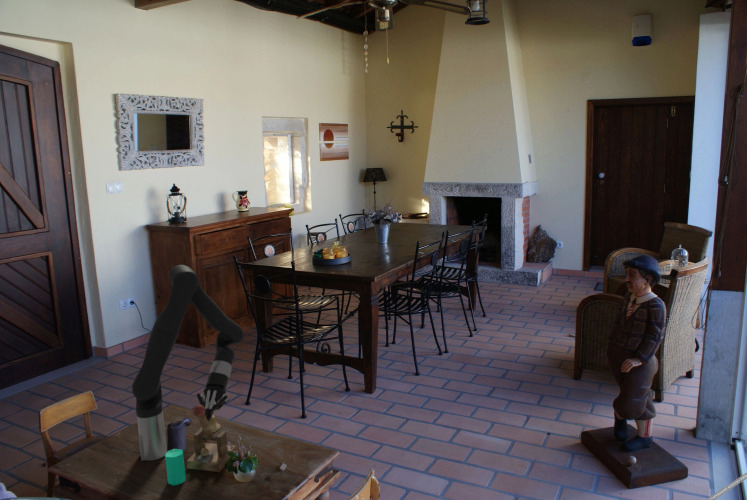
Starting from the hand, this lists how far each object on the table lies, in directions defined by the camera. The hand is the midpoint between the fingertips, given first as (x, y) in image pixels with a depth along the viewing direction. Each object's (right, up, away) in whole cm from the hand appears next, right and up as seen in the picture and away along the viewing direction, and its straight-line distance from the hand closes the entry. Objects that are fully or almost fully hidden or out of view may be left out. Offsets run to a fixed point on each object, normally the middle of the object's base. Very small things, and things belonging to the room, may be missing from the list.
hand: (206, 420), depth 211 cm
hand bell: (-7, -12, +29) cm, 32 cm away
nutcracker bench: (+1, -16, +4) cm, 17 cm away
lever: (+1, -7, +3) cm, 8 cm away
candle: (-8, -19, -7) cm, 22 cm away
